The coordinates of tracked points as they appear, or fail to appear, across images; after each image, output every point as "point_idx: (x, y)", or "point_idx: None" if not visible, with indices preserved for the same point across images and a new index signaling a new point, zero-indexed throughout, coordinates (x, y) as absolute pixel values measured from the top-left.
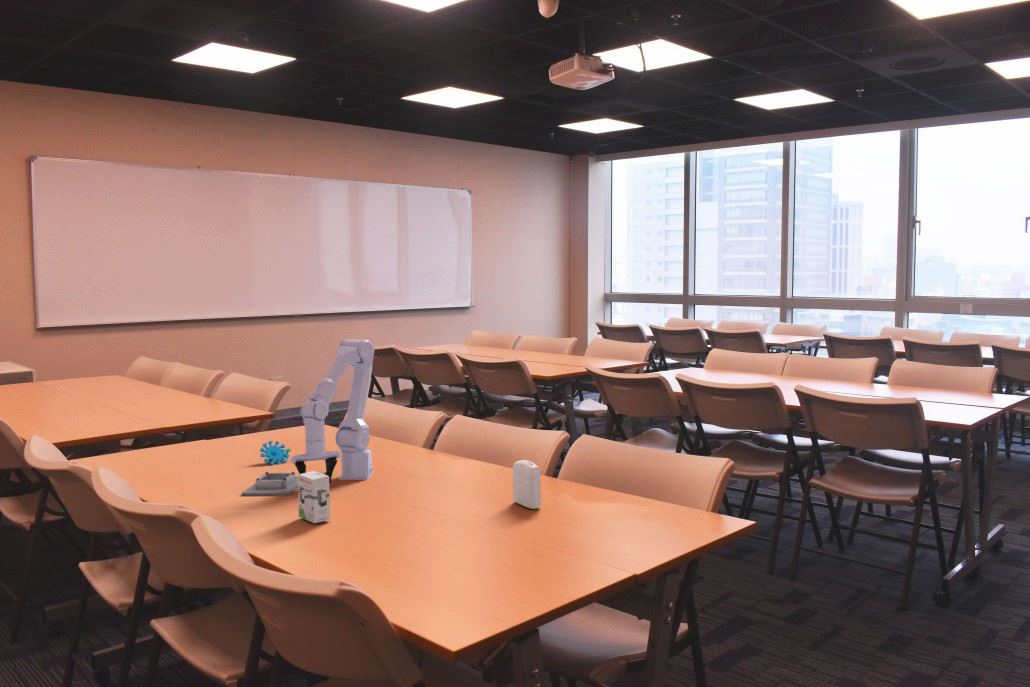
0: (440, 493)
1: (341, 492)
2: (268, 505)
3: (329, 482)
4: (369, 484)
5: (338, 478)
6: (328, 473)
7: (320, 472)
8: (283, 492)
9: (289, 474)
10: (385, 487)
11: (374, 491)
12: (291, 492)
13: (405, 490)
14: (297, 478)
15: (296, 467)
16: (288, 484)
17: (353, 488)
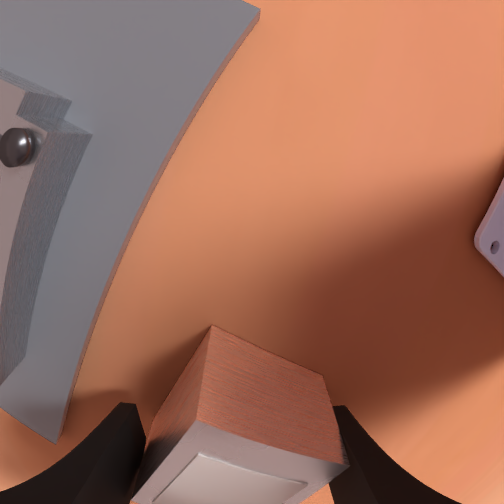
0: (500, 499)
1: (329, 491)
2: (21, 475)
3: None
4: (501, 404)
5: (479, 243)
6: (339, 499)
7: (293, 466)
8: (29, 424)
9: (1, 128)
10: (492, 452)
11: None
12: (65, 414)
13: (490, 482)
14: (131, 43)
15: (16, 491)
16: (21, 335)
17: (414, 452)
